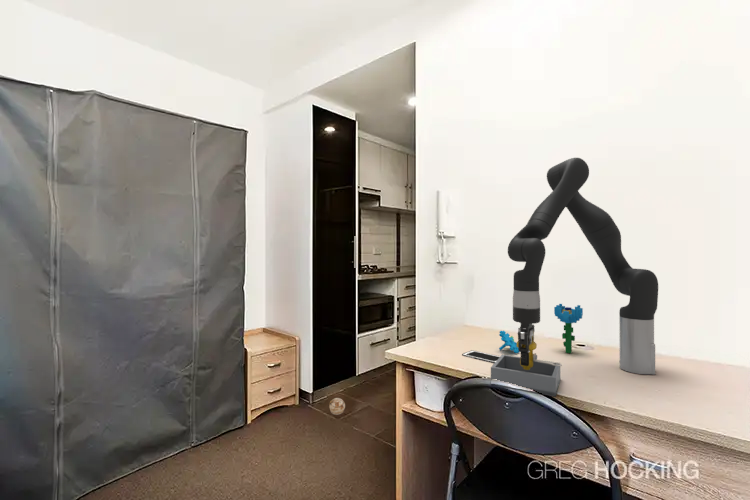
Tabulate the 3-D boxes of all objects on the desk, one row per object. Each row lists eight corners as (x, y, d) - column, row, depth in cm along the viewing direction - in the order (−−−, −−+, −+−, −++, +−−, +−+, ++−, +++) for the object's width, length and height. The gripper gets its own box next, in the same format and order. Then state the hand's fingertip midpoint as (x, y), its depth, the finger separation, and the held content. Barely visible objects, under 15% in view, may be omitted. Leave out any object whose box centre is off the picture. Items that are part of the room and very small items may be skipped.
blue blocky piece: (518, 354, 132) (498, 332, 136) (506, 363, 135) (487, 341, 138) (524, 347, 142) (506, 326, 145) (512, 355, 144) (495, 335, 148)
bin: (560, 379, 109) (560, 362, 109) (555, 396, 96) (555, 378, 96) (502, 369, 118) (502, 354, 118) (490, 384, 105) (490, 367, 105)
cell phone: (498, 365, 123) (498, 362, 123) (460, 356, 134) (460, 354, 134) (508, 360, 129) (508, 358, 129) (471, 352, 139) (471, 349, 139)
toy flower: (579, 357, 131) (579, 307, 132) (552, 353, 137) (552, 305, 137) (584, 351, 138) (583, 304, 138) (558, 348, 144) (558, 302, 144)
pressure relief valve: (520, 364, 111) (520, 332, 111) (564, 373, 103) (563, 338, 103) (514, 369, 107) (514, 335, 107) (559, 378, 99) (559, 341, 99)
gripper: (536, 310, 99) (536, 371, 99) (543, 303, 111) (543, 358, 111) (508, 307, 103) (508, 367, 103) (517, 301, 115) (517, 354, 115)
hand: (526, 362), depth 107 cm, fingers closed on pressure relief valve, 5 cm apart
